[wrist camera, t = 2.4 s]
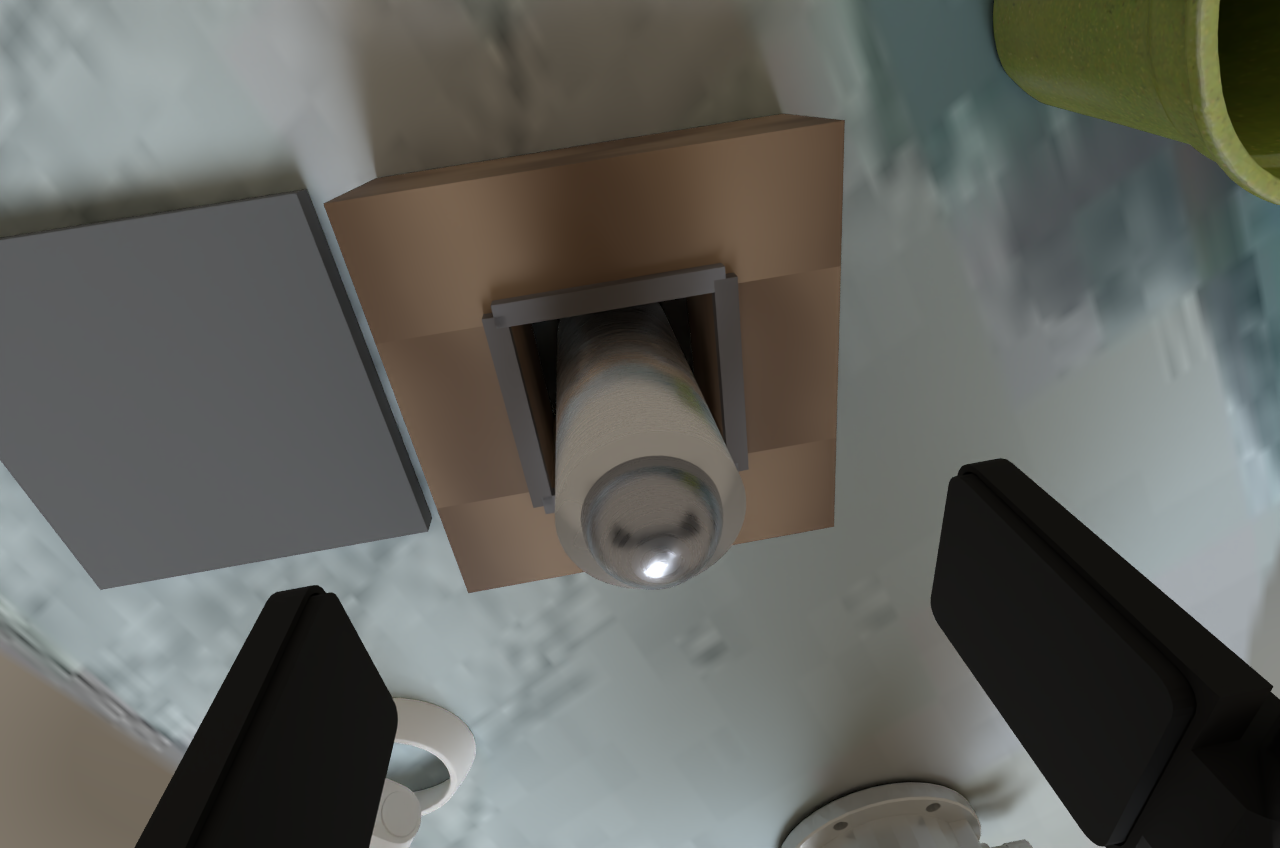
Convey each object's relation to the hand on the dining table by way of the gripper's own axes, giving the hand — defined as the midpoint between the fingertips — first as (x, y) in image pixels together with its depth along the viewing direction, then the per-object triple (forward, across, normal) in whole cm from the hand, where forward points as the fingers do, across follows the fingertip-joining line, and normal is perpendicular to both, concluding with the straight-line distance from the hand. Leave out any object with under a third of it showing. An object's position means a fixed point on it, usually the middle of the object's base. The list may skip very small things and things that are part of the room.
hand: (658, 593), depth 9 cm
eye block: (+13, 0, +1) cm, 13 cm away
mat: (+13, +14, +1) cm, 19 cm away
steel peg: (+13, 0, +1) cm, 13 cm away
